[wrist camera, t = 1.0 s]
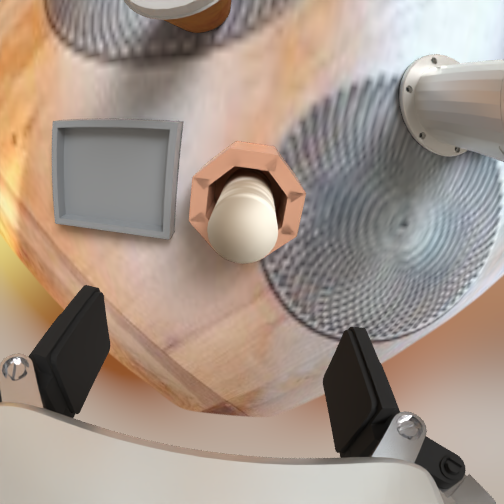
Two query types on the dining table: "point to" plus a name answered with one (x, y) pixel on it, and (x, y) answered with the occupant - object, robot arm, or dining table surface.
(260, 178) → the peg
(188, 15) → the disposable coffee cup
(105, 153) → the tray
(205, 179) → the terracotta octagonal pot
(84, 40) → the dining table surface
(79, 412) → the robot arm
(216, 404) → the dining table surface
